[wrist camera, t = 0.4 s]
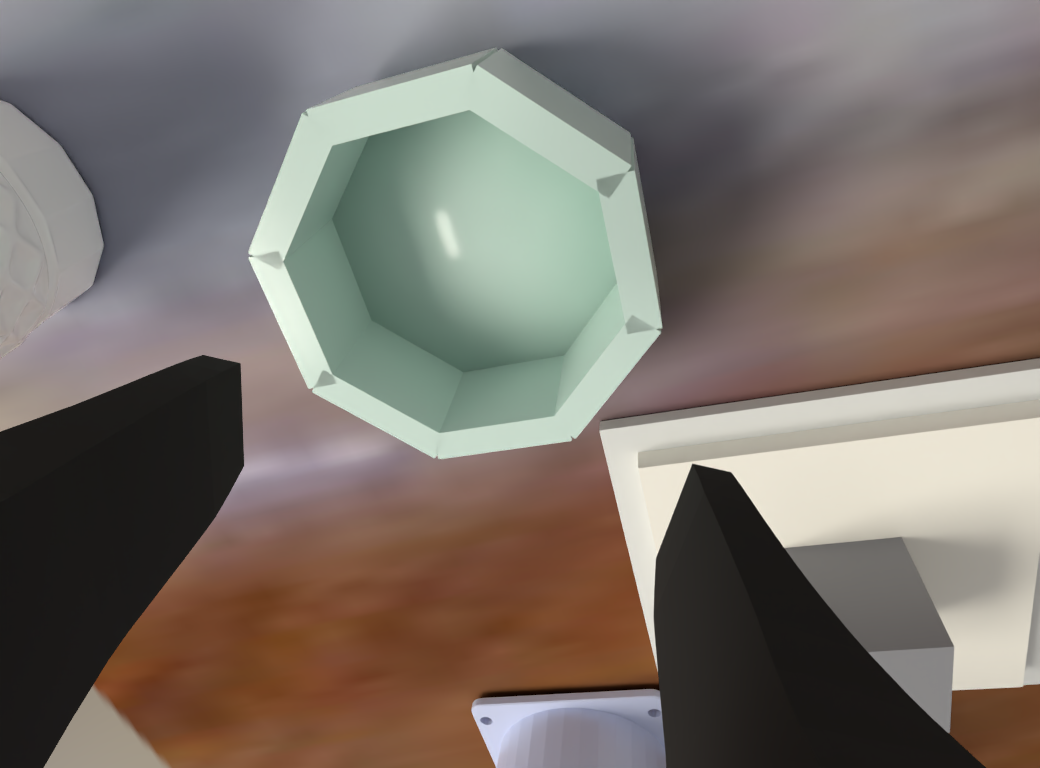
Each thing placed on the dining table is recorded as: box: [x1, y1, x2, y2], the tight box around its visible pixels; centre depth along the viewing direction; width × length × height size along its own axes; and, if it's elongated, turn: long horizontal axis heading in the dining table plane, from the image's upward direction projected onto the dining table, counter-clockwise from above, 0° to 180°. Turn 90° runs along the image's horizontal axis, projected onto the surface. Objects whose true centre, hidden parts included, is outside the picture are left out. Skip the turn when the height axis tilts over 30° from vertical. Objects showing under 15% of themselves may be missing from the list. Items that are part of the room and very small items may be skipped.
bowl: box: [248, 47, 663, 459], centre depth 18 cm, size 9×9×4 cm
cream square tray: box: [599, 358, 1040, 685], centre depth 23 cm, size 13×13×1 cm
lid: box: [638, 400, 1040, 733], centre depth 21 cm, size 11×11×5 cm
